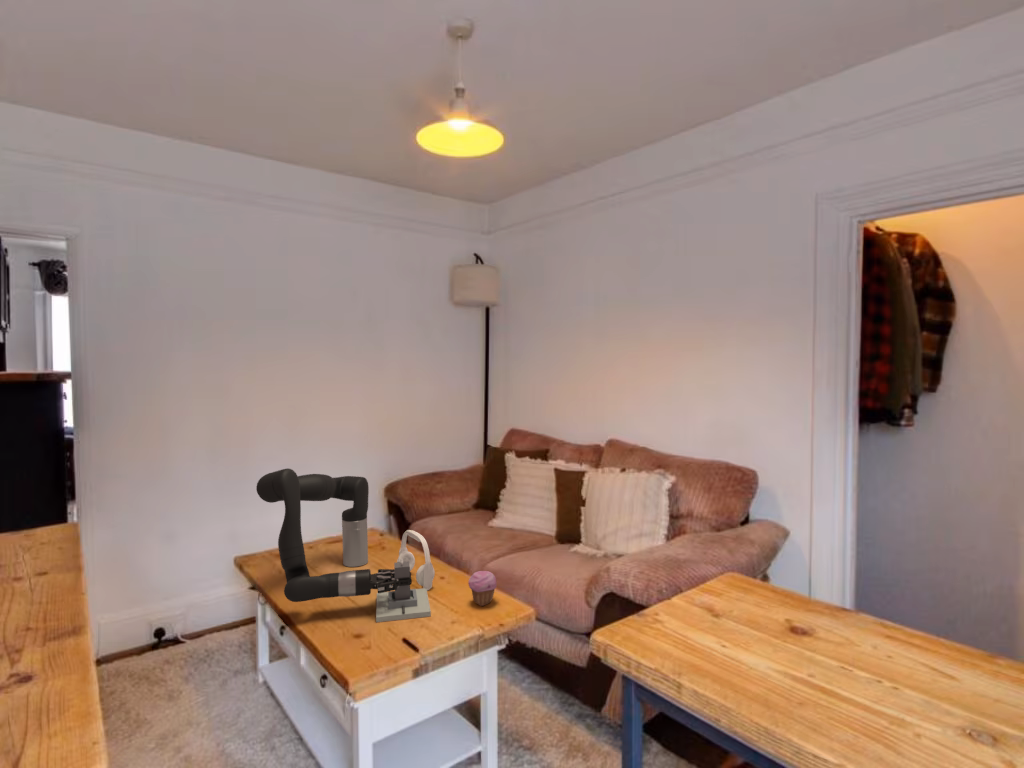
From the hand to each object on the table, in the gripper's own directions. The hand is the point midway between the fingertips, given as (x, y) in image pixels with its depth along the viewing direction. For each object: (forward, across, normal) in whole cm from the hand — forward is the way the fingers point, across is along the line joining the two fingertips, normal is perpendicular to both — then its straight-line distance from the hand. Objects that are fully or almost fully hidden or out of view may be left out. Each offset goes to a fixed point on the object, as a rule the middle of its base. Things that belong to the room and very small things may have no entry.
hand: (410, 577), depth 179 cm
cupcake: (+22, -4, +9) cm, 24 cm away
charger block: (-3, 0, +6) cm, 7 cm away
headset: (+2, +18, +9) cm, 21 cm away
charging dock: (-3, 0, +9) cm, 9 cm away
